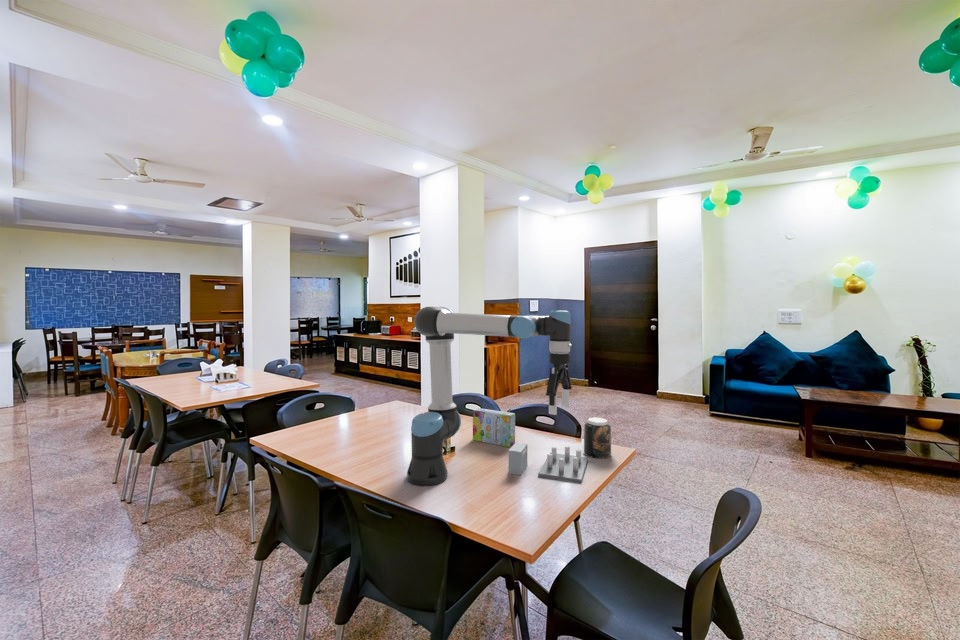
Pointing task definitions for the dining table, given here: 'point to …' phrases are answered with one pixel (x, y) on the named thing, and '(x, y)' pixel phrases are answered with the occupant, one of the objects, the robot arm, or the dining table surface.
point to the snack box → (494, 427)
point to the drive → (517, 458)
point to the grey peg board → (564, 466)
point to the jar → (597, 438)
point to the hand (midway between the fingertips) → (559, 410)
